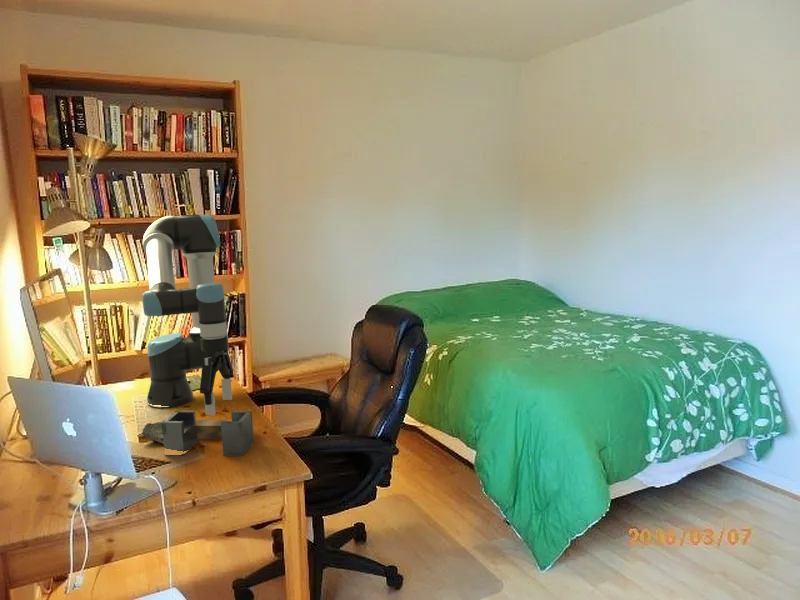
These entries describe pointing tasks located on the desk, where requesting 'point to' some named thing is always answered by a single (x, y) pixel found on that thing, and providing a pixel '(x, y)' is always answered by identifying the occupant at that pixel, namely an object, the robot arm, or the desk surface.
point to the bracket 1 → (180, 431)
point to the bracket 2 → (237, 433)
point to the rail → (209, 429)
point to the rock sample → (153, 432)
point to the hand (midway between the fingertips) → (219, 406)
